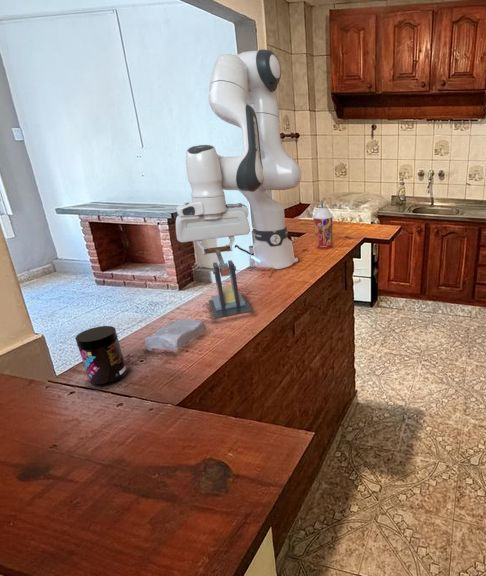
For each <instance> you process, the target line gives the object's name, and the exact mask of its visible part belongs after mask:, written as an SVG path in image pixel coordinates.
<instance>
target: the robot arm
mask: <svg viewBox="0 0 486 576" xmlns="http://www.w3.org/2000/svg"><path fill="white" fill-rule="evenodd" d="M281 77H282V66H281V62H280V60H279V58H278V56H277V55H276V54H275V53H274V52H273V50H270V49H258V50H249V51H243V52H241V53H235V54H231V53H224V54H223V53H222V54H221V55H220V56H218V57H217V58H216V60H215V62H214V65H213V68H212V72H211V76H210V81H209V88H208V104H209V107H210V109H211V110H212V112H213V113H214V114H215V116H217V118H219V119H220V120H222V121H224V122H226V123H228V124H230V125H232V126H235V127H237V128H240V129H241V132H242V133H241V134H242V145H243V146H242V147H243V152H242V154H241V155H237V156H223V155H222V156H221V155H220V154H218V153H217V151H216V148H215V146H213V145H210V144H198V145H193V146H191V147H189V148H188V149H186V152H185V167H186V174H187V180H188V183H189V184H190V188H191V191H190V192H191V193H190V198H191V200H190V201H187V202H184V203H182V204H179V205H178V206H176V208H175V210H176V214H177V216H176V218H175V234H176V235H175V236H176V240H177V241H178V242H180V243H189V242H196V245H197V246H198V248H200V250H201V254H202V256H203V255H204V256H207V255H209V254H208V252H207V251H208V250H207V247H206V246H205V247H204V246H203V245H202V244H203V241H205V240H212V239H221V238H228V239H229V242H228V244H225V246H226V247H227V251H226V252H227V253H228V252H233V248H234V249H235V248H237V249H238V250H240V251H242V252H244V253H246V254H247V255H249V256H248V258H249V259H248V261H249V265H248V266H249V267H258V268H267V269H268V268H273V269H274V270H282V269H285V268H288V267H291V266H292V265H293V264H295V263H298V262H299V257H296V256H295V253H294V247H293V241H292V240H291V239H290V238H288V236H289V234H288V233H289V231H288V228H287V226H286V218H285V215H286V214H285V208H284V206H283V205H282V204H281V203H280V202H279V201H277V200H275V199H273V198H271V197H270V196H269V194H268V193H267V191H285V190H291V189H294V188H297V187H299V184H300V182H301V180H302V169H301V166H300V165H299V163H298V162H297V161H296V160H294V158H292V157H291V156H290V155H289V154H288V153H287V152H286V150H285V148H284V146H283V143H282V139H281V138H282V137H281V129H280V127H281V126H280V109H279V102H278V98H277V94H276V90H277V89H278V85H279V84H280V80H281ZM261 151H262V152H264V157H262V155H261V154H262V153H261ZM225 191H239V193H241V194H242V195H243V196H244V197H245V199H246V200H247V202H248V203H249V205H250V208H251V212H252V216H253V221H254V222H253V223H254V230H253V234H254V239H255V240H254V241H253V245H249V246H248V250H246V249H245V248H242V247H240V246H239V245H238V244H235V245H234V247H233V244H234V242H235V239H236V238H235V237H238V236H245V235H246V236H247V235H249V234H250V233H251V226H250V223H249V219H248V217H249V209H248V206H247V205H245V204H243V203H242V202H238V203H227V202H226V196H225V195H226V194H225ZM252 265H253V266H252Z"/></svg>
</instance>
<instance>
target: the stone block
mask: <svg viewBox="0 0 486 576" xmlns="http://www.w3.org/2000/svg"><path fill="white" fill-rule="evenodd" d="M205 330H206V325H205V323H204V321H202V320H196V319H192V318H190V319H189V318H181V319H176V320H173V321H172V320H171V321H170V322H168V323H167V324H165V325H163V326H161V327H160V328H159V329H158V330H156V332H155V333H152V334H151V335H149V336H146V337H144V345H145V347H146V349H147V351H149V352H152V349H160V350H162V349H163V350H167V351H168V350H169V351H178V350H180V349H181V348H182V347H183V346H185V345H186V344H188V343H190V341H191V340H193V339H194V338H195V337H197V336H198V335H199V334H201V333H202V332H204V331H205Z"/></svg>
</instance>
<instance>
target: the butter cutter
mask: <svg viewBox="0 0 486 576" xmlns="http://www.w3.org/2000/svg"><path fill="white" fill-rule="evenodd" d="M227 264H228V267H229V272H230V275H229V279H230V283H231V285H232V290H233V292H234V298H235V303H236V306H237V307H233V308H227V309H226V308H225V302H224V296H223V290H222V287H223V284H222V279H221V277H222V276H221V273H220V269H219V263H217V262H212V266H213V268H212V274H213V275H214V278H215V279H214V280H215V284H216V291H217V295H218V297H219V302H220V305H221V308H222V310H217V311H216V309H215V306H214V303H213V300H212V299H209V300H208V303H209V306H210V309H211V312H212V315H213V317H214V320H219V319H222V318H228V317H231V316H232V317H233V316H237V315H242V314H243V315H244V314H247V313H248V314H249V313H251V312H254V310H253V309H252V307H251V305H250V303H249V302H248V299H247V298H246V297H245V295H244V294H243V293H242V294H241V296H242V298H243V300H244V301H245V304H246V305H243V306H240V301H239V294H238V291H239V289H238V282H237V274H236V271H237V267H236V265H235V264H234V262H233V261H232V260H231V259H230V260H227Z"/></svg>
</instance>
